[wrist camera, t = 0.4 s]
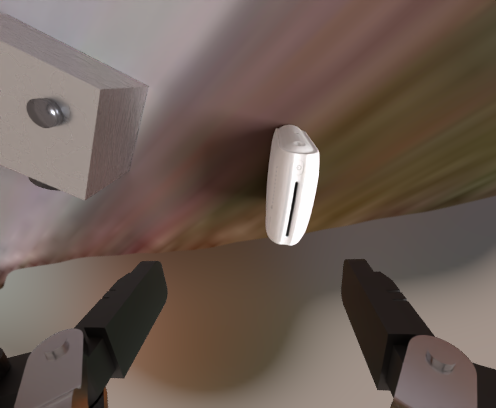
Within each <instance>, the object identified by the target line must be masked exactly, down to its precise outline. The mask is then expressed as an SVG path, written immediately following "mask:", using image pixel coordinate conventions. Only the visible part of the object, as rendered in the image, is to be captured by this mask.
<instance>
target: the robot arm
mask: <svg viewBox="0 0 496 408" xmlns="http://www.w3.org/2000/svg"><path fill="white" fill-rule="evenodd" d="M341 296H342V301H343V305H344V307H345V310H346V313H347V315H348V317H349V320H350V322H351V325H352V327H353V330H354V332H355V335H356V337H357V340H358V343H359V345H360V348H361V350H362V353H363V355H364V358H365V360H366V362H367V365H368V368H369V370H370V373H371V375H372V378H373V380H374V382H375V385H376V388H377V390H389V391H391V394H392V396H393V398H394V399H393V402H392V404H391V407H390V408H496V370H495V369H491V368H488V367H484V366H481V365H478V364H475V363H472V362H471V361H470V360H469V358H468V357H467V356H466V355H465V354H464V353H463V352H462V351H460V350H459V349H458V348H456V347H455V346H453V345H452V344H450V343H448V342H446V341H444V340H442V339H440V338H437V337H435V336H434V335H433V334H432V332H431V331H430V329H429V328H428V327H427V326H426V324H425V323H424V322H423V320H422V319H421V318H420V317H419V315H418V314H417V312H416V311H415V310H414V308H413V307H412V306H411V304H410V303H409V302H408V301H407V300H406V298H405V297H404V295H403V294H402V293H400V290H399V289H398V287H397V286H396V285H395V283H394V282H393V281H392V280H391V279H390V278H388V277H387V276H386V275H384V274H383V273H381V272H373V270H372V269H371V267H370V266H369V264H368V263H367V261H366V260H365V259H346V260H344V264H343V275H342V286H341ZM166 299H167V286H166V281H165V277H164V273H163V269H162V265H161V263H160V262H159V261H142V262H140V263H139V264H138V265H137V267H136V268H135V269H134V270H133V271H132V272H131V273H128V274H127V275H125V276H124V277H122V278H121V279H119V280H118V281H117V282H116V283H115V284H114V285H113V286H112V287H111V288H110V290H109V291H108V292H107V293H106V294H105V295H104V296H103V298H102V299H100V300H99V301H98V303H97V304H96V305H95V306H94V307H93V308H92V309H91V310H90V311H89V312H88V314H87V315H86V316H85V317H84V318H83V319H82V320H81V321H80V322H79V323H78V325H76V327H75V328H74V329H67V330H63V331H60V332H58V333H56V334H54V335H52V336H50V337H49V338H47V339H45V340H44V341H43V342H41V343H40V344H39V345H38V346H37V347H36V348H35V349H34V350H33V351H32V352H30V353H25V354H22V355H18V356H14V357H10V358H7V356H6V355H5V353H4V352H3V350H2V349H1V348H0V408H108V397H107V389H106V387H105V386H106V385H107V383H108V381H109V379H110V378H124V377H125V375H126V374H127V372H128V370H129V368H130V366H131V364H132V363H133V361H134V359H135V357H136V355H137V354H138V352H139V350H140V348H141V346H142V345H143V343H144V341H145V339H146V337H147V335H148V334H149V332H150V330H151V328H152V326H153V325H154V323H155V321H156V319H157V317H158V315H159V314H160V312H161V310H162V308H163V306H164V304H165V302H166Z"/></svg>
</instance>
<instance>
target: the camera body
mask: <svg viewBox="0 0 496 408" xmlns="http://www.w3.org/2000/svg"><path fill="white" fill-rule="evenodd" d="M148 87H149V86H147V85H145V84H143V83H141V82H139V81H137V80H135V79H133V78H131V77H129V76H127V75H125V74H123V73H121V72H119V71H118V70H116V69H114V68H112V67H110V66H108V65H106V64H104V63H102V62H100V61H98V60H96V59H94V58H92V57H90V56H88V55H86V54H84V53H82V52H80V51H78V50H76V49H74V48H72V47H70V46H68V45H66V44H64V43H62V42H60V41H58V40H57V39H55V38H53V37H51V36H49V35H47V34H45V33H43V32H41V31H39V30H37V29H35V28H33V27H31V26H29V25H27V24H25V23H23V22H21V21H19V20H17V19H15V18H13V17H11V16H9V15H7V14H3V13H0V165H2V166H4V167H6V168H9V169H11V170H14V171H16V172H18V173H21V174H23V175H25V176H28V177H29V180H30V181H31V182H32V183H33V184H35V185H37V186H39V187H42V188H45V189H50V190H61V191H64V192H66V193H68V194H71V195H73V196H76V197H78V198H80V199H83V200H86V199H88V198H89V197H91V196H92V195H94V194H95V193H97V192H98V191H100V190H101V189H103V188H104V187H106V186H107V185H109V184H110V183H112V182H113V181H115V180H116V179H118V178H119V177H121V176H122V175H124V174H125V173H127V172H128V171H129V168H130V164H131V160H132V155H133V151H134V147H135V142H136V138H137V134H138V130H139V125H140V121H141V117H142V112H143V108H144V104H145V100H146V95H147V91H148Z"/></svg>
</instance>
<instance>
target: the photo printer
mask: <svg viewBox="0 0 496 408" xmlns="http://www.w3.org/2000/svg"><path fill="white" fill-rule="evenodd" d="M318 176H319V150H318V149H317V147H316V146H315V145H314V143H313V142H312V140H311V139H310V138H309V136H308V135H307V133H306V132H305V131H301V130H300V129H299V128H298V127H296V126H294V125H284V126H282V127H280V128H279V129H278V128H276V130H275V132H274V135H273V139H272V145H271V152H270V159H269V168H268V178H267V191H266V231H267V235H268V237H269V238H270V239H271V240H272V241H273V242H275V243H277V244H287V245H294V244H296V243H298V242H299V240H300V239H301V238H302V236H303V234H304V233H305V230H306V228H307V225H308V222H309V218H310V215H311V211H312V207H313V202H314V198H315V193H316V188H317V182H318Z"/></svg>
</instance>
